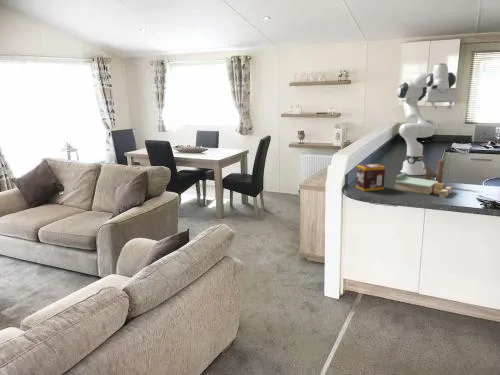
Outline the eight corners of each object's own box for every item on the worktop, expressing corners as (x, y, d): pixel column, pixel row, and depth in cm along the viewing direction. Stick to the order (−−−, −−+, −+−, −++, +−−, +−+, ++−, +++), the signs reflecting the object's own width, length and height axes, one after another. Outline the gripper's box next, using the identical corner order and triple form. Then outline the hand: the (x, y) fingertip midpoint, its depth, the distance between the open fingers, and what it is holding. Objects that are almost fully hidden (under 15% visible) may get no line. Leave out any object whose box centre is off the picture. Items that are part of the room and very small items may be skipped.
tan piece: (403, 184, 272) (403, 178, 271) (451, 192, 253) (452, 185, 251) (394, 189, 261) (395, 182, 260) (444, 197, 241) (445, 190, 240)
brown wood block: (435, 191, 254) (436, 182, 252) (443, 193, 250) (444, 183, 249) (433, 193, 251) (434, 183, 249) (441, 194, 248) (442, 184, 246)
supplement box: (355, 187, 267) (356, 165, 263) (375, 185, 271) (376, 163, 267) (363, 191, 257) (364, 168, 253) (383, 189, 261) (385, 166, 257)
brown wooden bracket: (424, 184, 272) (427, 159, 267) (441, 186, 267) (444, 160, 263) (424, 185, 269) (427, 159, 264) (441, 187, 264) (444, 161, 260)
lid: (403, 177, 271) (404, 172, 270) (437, 182, 257) (438, 176, 256) (394, 182, 260) (395, 176, 259) (430, 187, 245) (430, 181, 244)
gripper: (455, 89, 259) (455, 109, 258) (423, 89, 259) (424, 110, 258) (459, 86, 252) (460, 107, 251) (428, 86, 253) (428, 107, 252)
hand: (442, 108), depth 255 cm, fingers open, 8 cm apart
